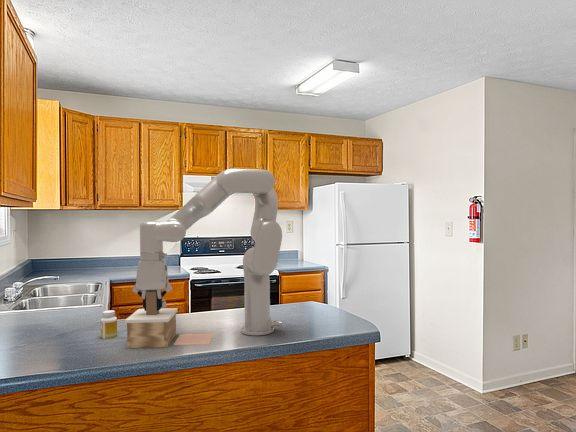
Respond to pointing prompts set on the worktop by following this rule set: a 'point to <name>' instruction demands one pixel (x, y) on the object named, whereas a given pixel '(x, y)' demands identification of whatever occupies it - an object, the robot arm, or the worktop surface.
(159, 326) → the oak box
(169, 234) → the robot arm
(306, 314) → the worktop surface
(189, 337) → the plate
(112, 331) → the supplement bottle
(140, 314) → the lid
